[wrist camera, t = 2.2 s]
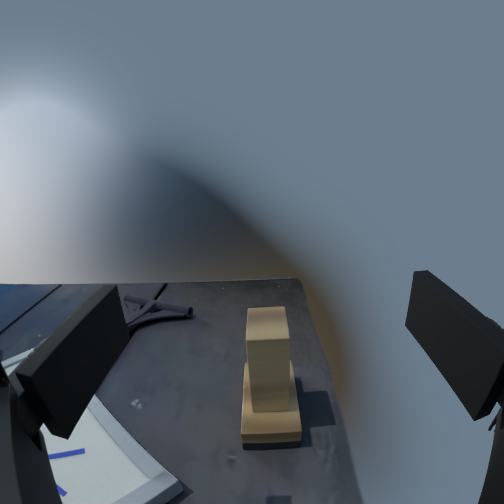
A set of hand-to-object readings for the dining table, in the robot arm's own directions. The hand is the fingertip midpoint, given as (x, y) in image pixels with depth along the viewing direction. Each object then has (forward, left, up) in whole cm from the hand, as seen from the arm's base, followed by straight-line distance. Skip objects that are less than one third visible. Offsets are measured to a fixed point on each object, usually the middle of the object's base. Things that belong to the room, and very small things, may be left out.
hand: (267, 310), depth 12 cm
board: (+20, +20, -17) cm, 33 cm away
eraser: (+6, -8, -17) cm, 19 cm away
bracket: (+32, -8, -17) cm, 37 cm away
